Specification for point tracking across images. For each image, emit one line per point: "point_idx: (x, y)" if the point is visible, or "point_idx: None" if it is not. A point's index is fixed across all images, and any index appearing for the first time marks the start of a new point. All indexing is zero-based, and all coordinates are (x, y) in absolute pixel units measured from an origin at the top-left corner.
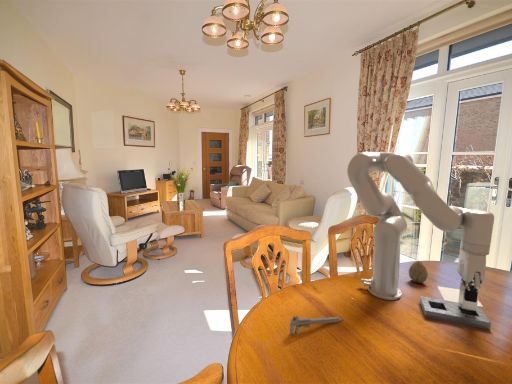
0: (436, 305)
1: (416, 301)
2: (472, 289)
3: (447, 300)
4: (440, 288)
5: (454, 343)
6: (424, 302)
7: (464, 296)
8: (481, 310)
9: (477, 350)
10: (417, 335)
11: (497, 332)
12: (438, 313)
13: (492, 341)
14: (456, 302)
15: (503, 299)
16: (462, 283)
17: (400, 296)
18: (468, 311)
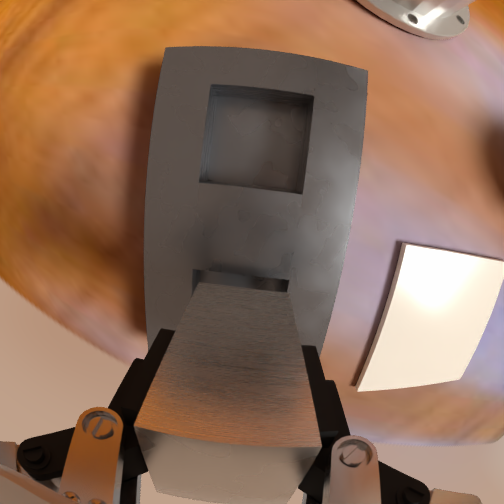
0: (303, 151)
1: (368, 78)
2: (50, 438)
3: (405, 260)
4: (493, 270)
5: (34, 161)
6: (278, 62)
7: (170, 346)
8: None
9: (27, 231)
10: (55, 41)
11: None
12: (154, 117)
13: (94, 312)
14: (335, 289)
15: (407, 439)
16: (240, 446)
17: (371, 5)
18: None
